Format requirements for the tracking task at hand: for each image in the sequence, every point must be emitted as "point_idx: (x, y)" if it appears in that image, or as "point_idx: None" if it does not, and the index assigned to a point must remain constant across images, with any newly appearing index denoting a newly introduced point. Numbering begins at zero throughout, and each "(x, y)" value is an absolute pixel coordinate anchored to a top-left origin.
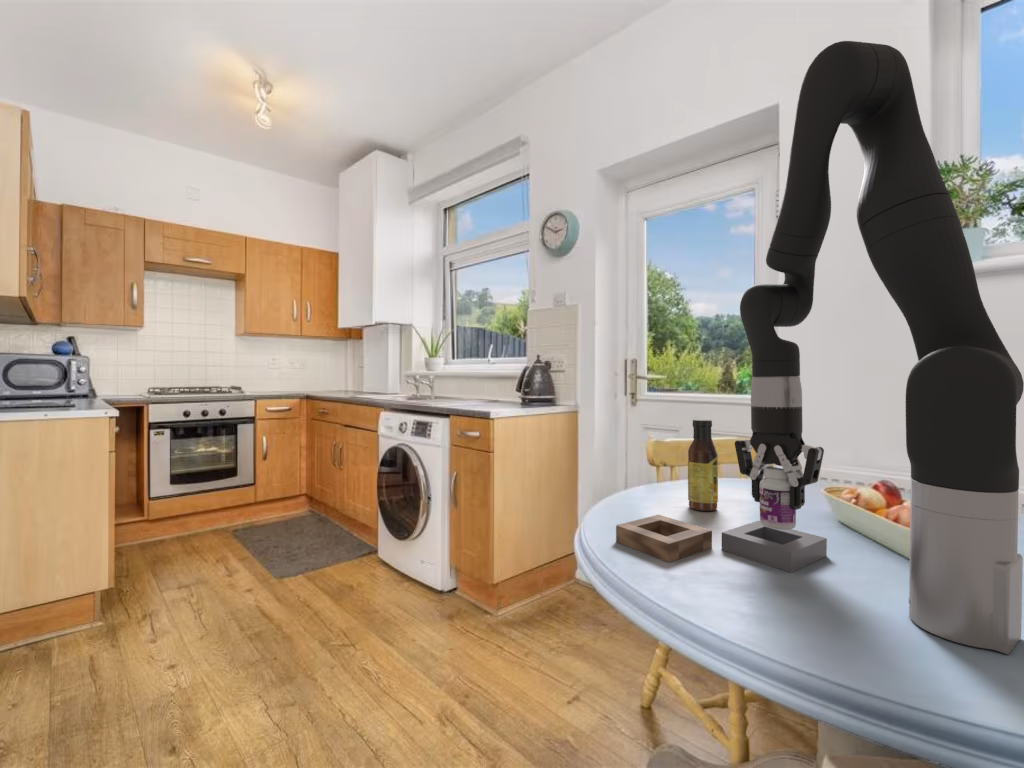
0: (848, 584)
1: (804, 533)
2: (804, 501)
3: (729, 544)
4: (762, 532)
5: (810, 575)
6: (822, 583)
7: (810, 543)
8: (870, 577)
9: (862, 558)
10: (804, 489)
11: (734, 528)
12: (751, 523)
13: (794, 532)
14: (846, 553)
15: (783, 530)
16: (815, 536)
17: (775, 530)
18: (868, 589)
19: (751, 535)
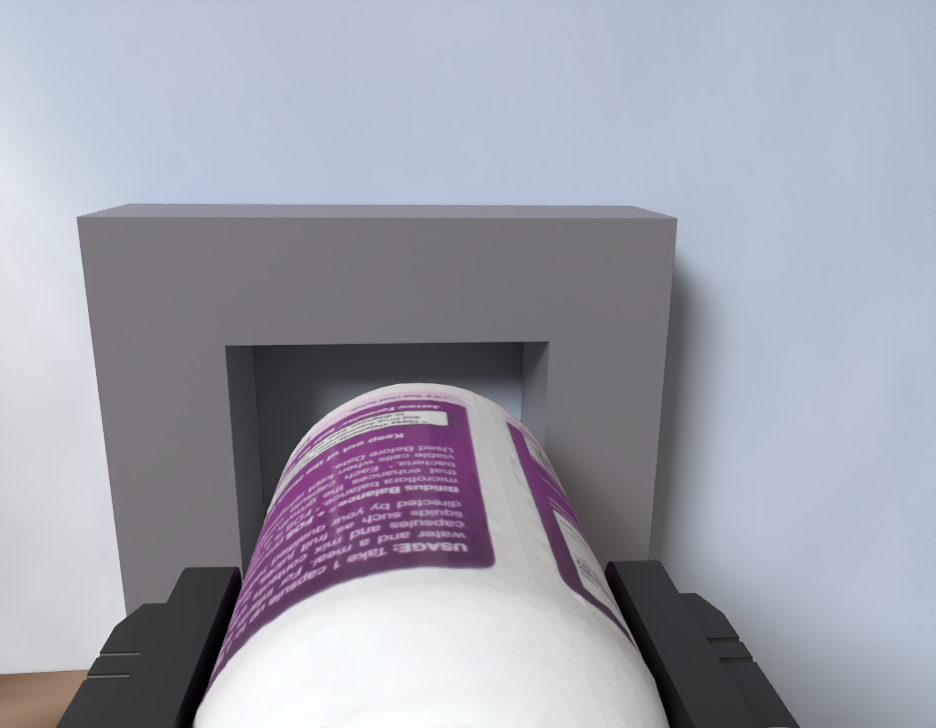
0: (842, 533)
1: (518, 245)
2: (726, 624)
3: None
4: (235, 362)
5: (680, 578)
6: (753, 622)
7: (644, 444)
8: (901, 347)
9: (801, 33)
10: (796, 725)
11: (126, 586)
12: (106, 355)
13: (457, 290)
14: (699, 15)
15: (376, 312)
16: (604, 248)
17: (325, 342)
18: (922, 514)
19: (246, 518)
